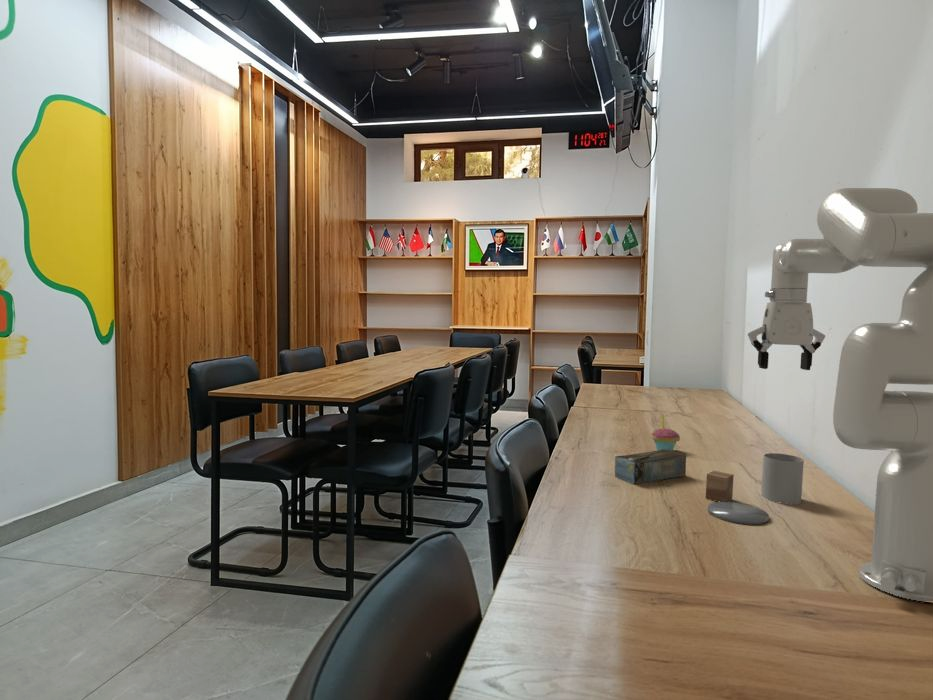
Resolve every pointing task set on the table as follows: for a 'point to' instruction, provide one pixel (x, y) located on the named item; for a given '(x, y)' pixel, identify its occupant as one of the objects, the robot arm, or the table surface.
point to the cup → (782, 478)
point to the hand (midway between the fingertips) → (784, 368)
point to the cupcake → (665, 438)
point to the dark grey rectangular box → (650, 466)
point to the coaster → (738, 513)
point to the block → (719, 486)
